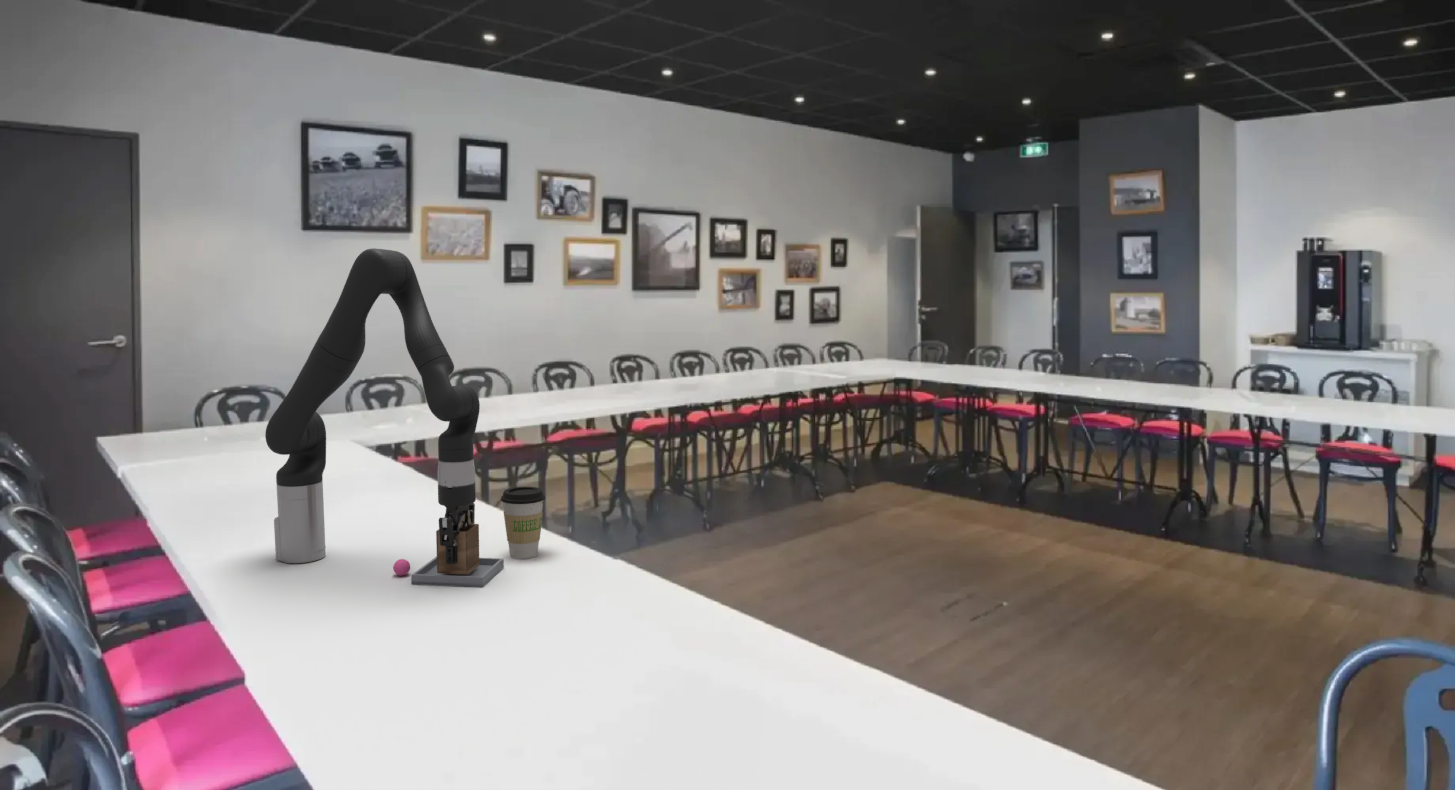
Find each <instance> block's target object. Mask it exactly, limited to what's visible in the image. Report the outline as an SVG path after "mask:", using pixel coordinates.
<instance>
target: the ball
mask: <svg viewBox="0 0 1455 790" xmlns="http://www.w3.org/2000/svg"><path fill="white" fill-rule="evenodd" d="M392 569H393V570H392V571H393V572H394V574H396V575H397V576H406V575H407V574H408V573H410V571H411V564H410V562H409V561H408V560H407V559H404V558H400V559H398V560H396V561H395V563H394V564H393V566H392Z"/></svg>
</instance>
